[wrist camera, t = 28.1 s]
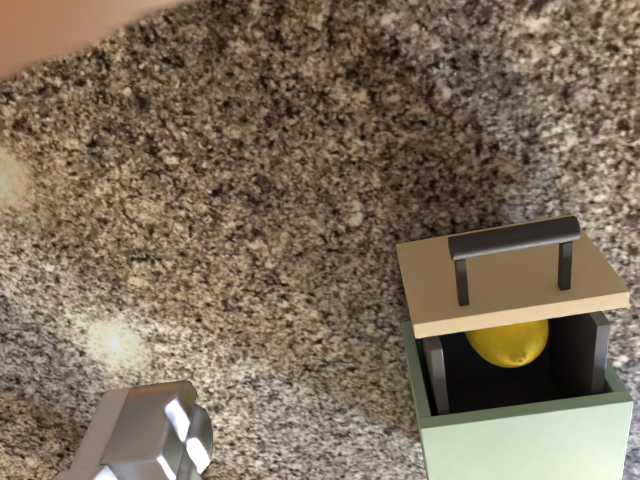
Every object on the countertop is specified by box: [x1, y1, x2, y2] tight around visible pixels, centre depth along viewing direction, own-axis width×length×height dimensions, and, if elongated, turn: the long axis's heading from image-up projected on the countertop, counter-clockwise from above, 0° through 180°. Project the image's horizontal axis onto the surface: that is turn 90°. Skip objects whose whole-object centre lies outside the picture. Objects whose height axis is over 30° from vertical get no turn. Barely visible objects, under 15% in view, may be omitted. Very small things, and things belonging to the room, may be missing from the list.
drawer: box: [396, 214, 630, 416], centre depth 38 cm, size 20×13×9 cm, turn 12°
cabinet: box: [401, 320, 634, 480], centre depth 44 cm, size 17×14×11 cm
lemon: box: [464, 319, 548, 368], centre depth 37 cm, size 6×6×8 cm
